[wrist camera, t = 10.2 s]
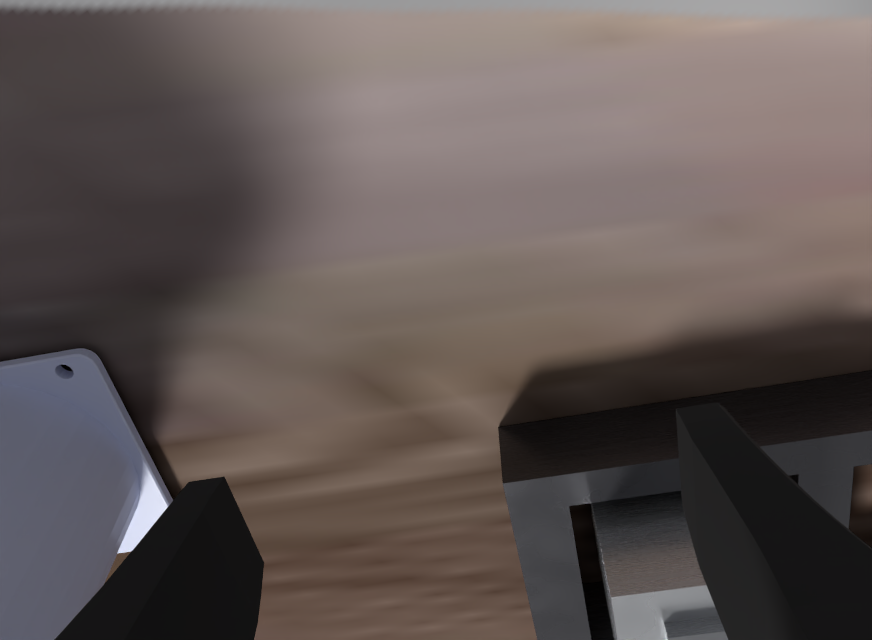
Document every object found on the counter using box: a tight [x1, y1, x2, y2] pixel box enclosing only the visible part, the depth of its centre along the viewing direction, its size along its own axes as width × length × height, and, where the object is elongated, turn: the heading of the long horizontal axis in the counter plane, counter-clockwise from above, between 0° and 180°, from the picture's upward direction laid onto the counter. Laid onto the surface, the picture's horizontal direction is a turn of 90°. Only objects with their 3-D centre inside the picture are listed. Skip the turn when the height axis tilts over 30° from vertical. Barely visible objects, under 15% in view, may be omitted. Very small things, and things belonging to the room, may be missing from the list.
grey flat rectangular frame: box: [498, 371, 872, 640], centre depth 26 cm, size 18×9×2 cm, turn 102°
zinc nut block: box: [590, 491, 728, 640], centre depth 25 cm, size 5×5×6 cm
